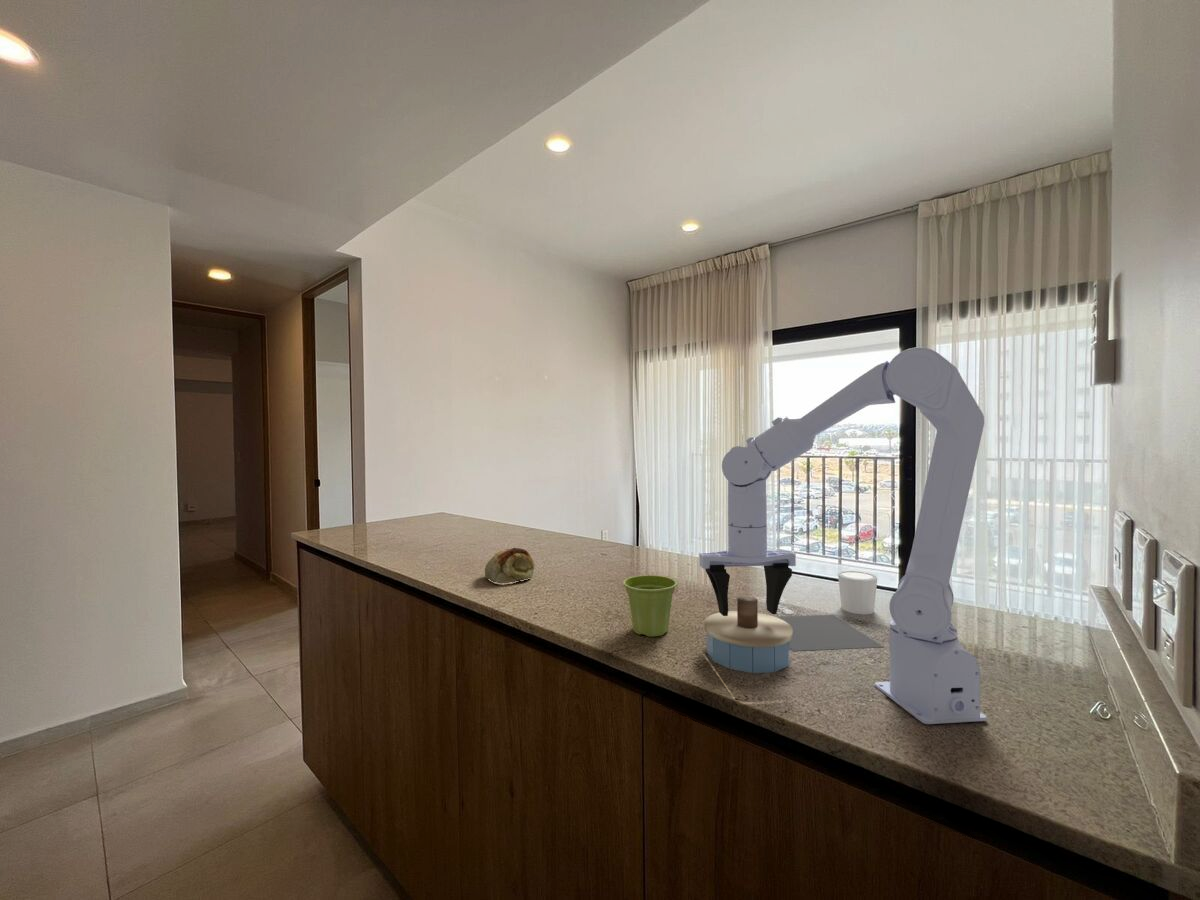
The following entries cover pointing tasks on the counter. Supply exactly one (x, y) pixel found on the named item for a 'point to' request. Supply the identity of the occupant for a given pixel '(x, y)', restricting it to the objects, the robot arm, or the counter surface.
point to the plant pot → (650, 603)
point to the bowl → (748, 656)
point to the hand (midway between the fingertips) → (747, 613)
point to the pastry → (510, 566)
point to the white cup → (857, 592)
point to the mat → (825, 634)
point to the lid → (748, 626)
